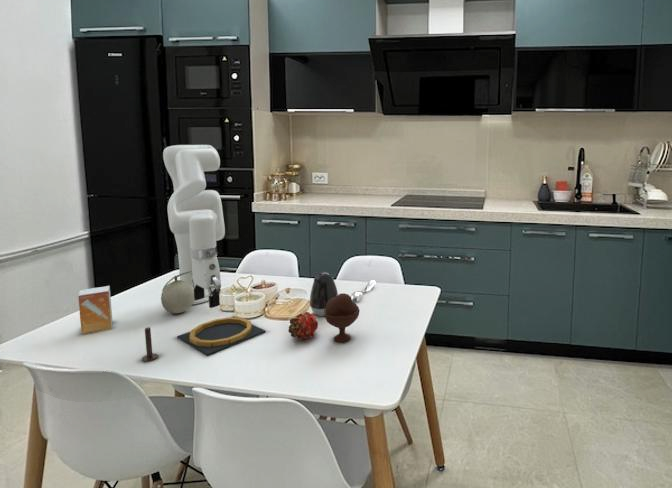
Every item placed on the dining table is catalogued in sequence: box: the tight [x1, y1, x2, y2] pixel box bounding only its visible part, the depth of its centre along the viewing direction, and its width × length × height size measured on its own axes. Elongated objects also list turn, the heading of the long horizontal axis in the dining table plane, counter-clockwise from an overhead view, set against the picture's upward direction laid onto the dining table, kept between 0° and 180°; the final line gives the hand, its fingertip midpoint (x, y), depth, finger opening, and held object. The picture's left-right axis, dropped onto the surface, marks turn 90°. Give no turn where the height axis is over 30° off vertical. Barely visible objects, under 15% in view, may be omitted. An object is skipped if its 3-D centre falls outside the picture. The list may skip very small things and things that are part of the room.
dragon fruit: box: [287, 311, 319, 341], centre depth 137 cm, size 8×8×12 cm
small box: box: [77, 285, 113, 335], centre depth 143 cm, size 8×6×13 cm
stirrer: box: [350, 280, 377, 303], centre depth 175 cm, size 20×4×5 cm
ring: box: [189, 316, 252, 347], centre depth 138 cm, size 18×18×1 cm
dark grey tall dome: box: [309, 271, 339, 317], centre depth 154 cm, size 10×10×15 cm
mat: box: [176, 315, 267, 356], centre depth 138 cm, size 19×19×1 cm
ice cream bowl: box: [324, 293, 360, 344], centre depth 134 cm, size 11×11×15 cm
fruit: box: [160, 271, 194, 315], centre depth 155 cm, size 10×12×15 cm
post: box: [141, 326, 159, 363], centre depth 123 cm, size 4×4×9 cm
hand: (206, 302), depth 143 cm, fingers open, 9 cm apart
